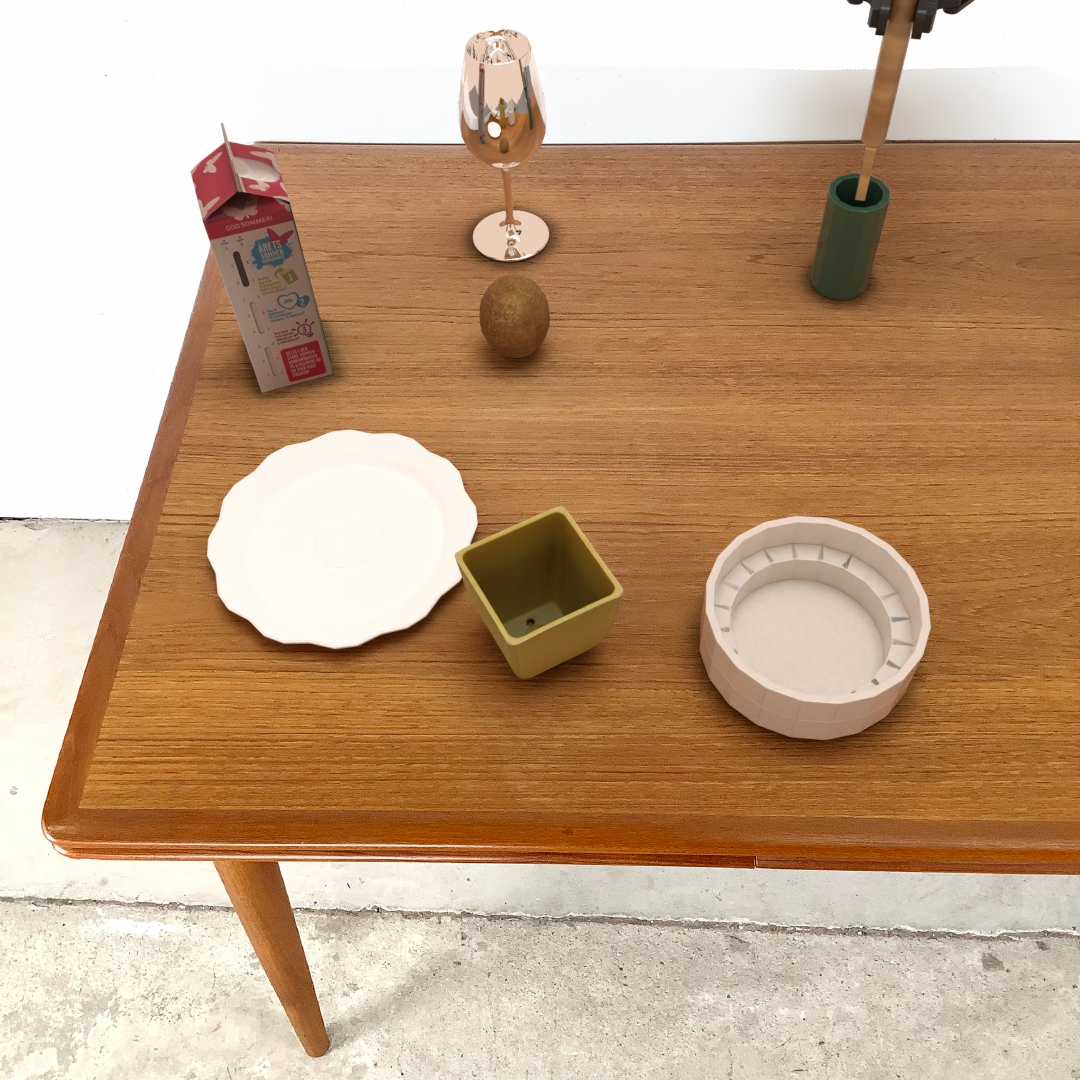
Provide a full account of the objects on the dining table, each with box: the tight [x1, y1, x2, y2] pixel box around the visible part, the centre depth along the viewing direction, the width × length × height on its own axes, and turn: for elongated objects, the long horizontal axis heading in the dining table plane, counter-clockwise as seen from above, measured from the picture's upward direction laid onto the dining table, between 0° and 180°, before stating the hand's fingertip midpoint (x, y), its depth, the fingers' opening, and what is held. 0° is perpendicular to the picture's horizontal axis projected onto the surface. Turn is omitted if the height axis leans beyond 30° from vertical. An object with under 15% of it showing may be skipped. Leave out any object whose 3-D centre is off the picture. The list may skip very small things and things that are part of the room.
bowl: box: [699, 515, 932, 741], centre depth 80 cm, size 15×15×6 cm
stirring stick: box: [855, 0, 918, 201], centre depth 86 cm, size 3×2×24 cm
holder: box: [810, 172, 891, 301], centre depth 101 cm, size 5×5×10 cm
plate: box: [206, 429, 479, 650], centre depth 89 cm, size 21×21×2 cm
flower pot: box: [455, 505, 624, 680], centre depth 80 cm, size 9×9×9 cm
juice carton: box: [190, 122, 336, 393], centre depth 93 cm, size 7×7×22 cm
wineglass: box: [458, 28, 550, 263], centre depth 102 cm, size 8×8×20 cm
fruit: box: [479, 273, 551, 359], centre depth 98 cm, size 6×6×8 cm
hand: (900, 25), depth 81 cm, fingers closed on stirring stick, 2 cm apart
